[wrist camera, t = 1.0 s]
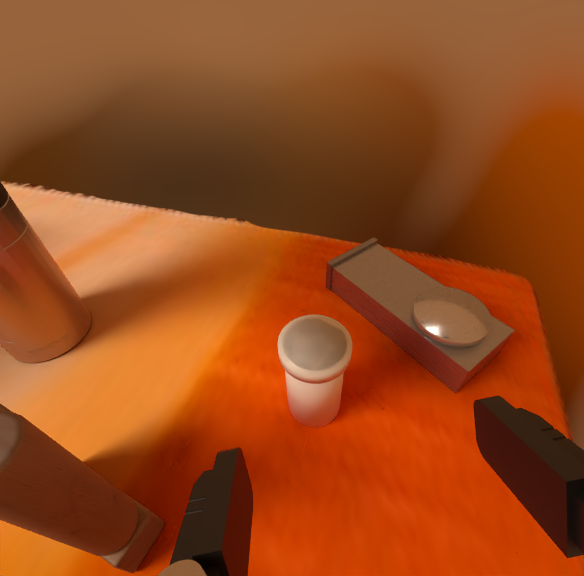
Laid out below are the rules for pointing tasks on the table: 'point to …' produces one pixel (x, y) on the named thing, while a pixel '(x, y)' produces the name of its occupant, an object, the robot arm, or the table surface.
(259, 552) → the table surface
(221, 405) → the table surface
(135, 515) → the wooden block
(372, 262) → the grey soap dish block
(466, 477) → the table surface
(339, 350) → the white flanged cylinder
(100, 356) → the table surface
